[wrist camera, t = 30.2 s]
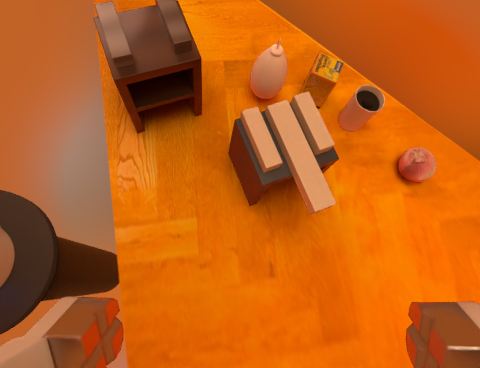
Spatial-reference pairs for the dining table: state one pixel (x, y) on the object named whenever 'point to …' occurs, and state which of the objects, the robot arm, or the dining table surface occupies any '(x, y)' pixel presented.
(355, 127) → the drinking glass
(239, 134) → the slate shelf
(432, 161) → the red round fruit
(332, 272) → the dining table surface
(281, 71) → the air blower bulb
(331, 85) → the supplement box
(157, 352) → the dining table surface
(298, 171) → the cream rectangular block
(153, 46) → the walnut shelf
